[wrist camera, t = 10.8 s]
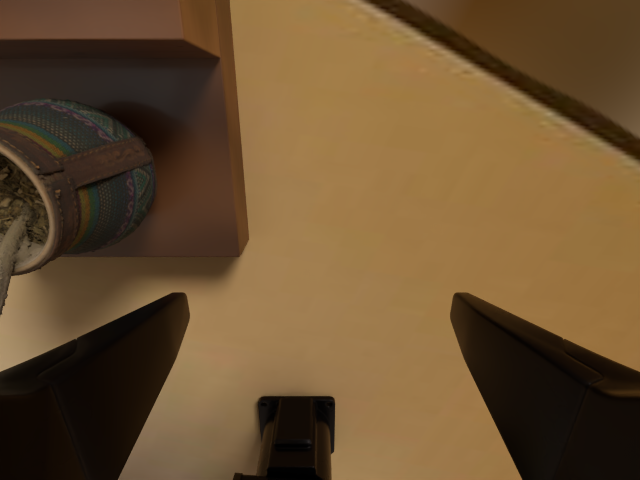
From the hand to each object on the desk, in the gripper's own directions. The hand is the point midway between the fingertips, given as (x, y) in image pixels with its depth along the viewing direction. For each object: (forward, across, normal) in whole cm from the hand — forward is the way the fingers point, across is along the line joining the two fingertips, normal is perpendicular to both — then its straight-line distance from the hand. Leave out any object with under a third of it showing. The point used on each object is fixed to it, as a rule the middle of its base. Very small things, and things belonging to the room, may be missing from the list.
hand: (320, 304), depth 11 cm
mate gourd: (+10, +12, -3) cm, 16 cm away
